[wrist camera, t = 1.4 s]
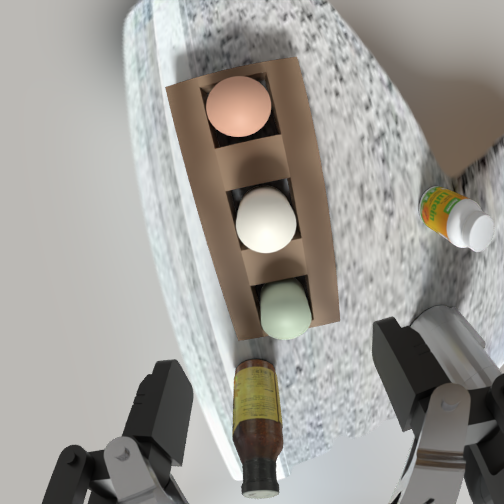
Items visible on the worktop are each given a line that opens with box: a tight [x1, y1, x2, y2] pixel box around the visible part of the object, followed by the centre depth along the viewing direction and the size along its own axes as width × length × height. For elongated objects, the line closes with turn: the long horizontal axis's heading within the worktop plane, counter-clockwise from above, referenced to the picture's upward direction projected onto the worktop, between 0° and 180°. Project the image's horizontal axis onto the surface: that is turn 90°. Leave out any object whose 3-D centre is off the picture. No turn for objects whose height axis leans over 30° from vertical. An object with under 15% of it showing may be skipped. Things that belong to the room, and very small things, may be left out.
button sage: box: [260, 278, 312, 340], centre depth 30 cm, size 5×5×5 cm
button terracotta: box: [206, 76, 271, 137], centre depth 22 cm, size 5×5×5 cm
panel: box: [165, 57, 340, 341], centre depth 28 cm, size 12×28×4 cm, turn 13°
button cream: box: [236, 185, 296, 253], centre depth 26 cm, size 5×5×5 cm
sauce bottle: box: [233, 359, 283, 499], centre depth 31 cm, size 6×6×20 cm
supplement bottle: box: [419, 186, 494, 252], centre depth 25 cm, size 5×5×10 cm
